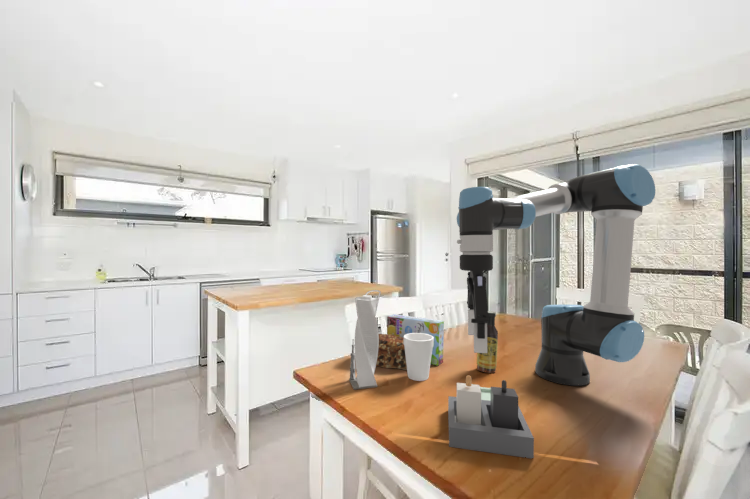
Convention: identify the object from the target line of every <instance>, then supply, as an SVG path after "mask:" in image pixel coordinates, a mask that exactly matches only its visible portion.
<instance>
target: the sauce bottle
mask: <svg viewBox="0 0 750 499" xmlns="http://www.w3.org/2000/svg"><path fill="white" fill-rule="evenodd" d="M496 315H497V313H496V312H495V311H491V310H488V318H489V322H487V353H476V369H477V370H478V371H479V372H482V373H485V374H494V373H495V372H496V370H497V360H498V359H497V358H498V341H499V336H498V335H499V333H498V329H497V327H496V326H495V325H496V323H495V321H496Z"/></svg>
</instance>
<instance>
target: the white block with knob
mask: <svg viewBox="0 0 750 499" xmlns="http://www.w3.org/2000/svg"><path fill="white" fill-rule="evenodd" d="M480 387H481V386H480V384H473V383H472V376H471V375H466V376H465V382H456V397H457V402H456V422H459V423H466V424H474V425H481V390H480Z"/></svg>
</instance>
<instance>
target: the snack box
mask: <svg viewBox="0 0 750 499" xmlns="http://www.w3.org/2000/svg"><path fill="white" fill-rule="evenodd" d="M386 318H387V320H386V334H388V335H395V336H398V337H402V338H404V335H406V334H409V333H424V334H429V335H431V336H433V337H434V346H433V349H432V356H431V363H430V365H433V366H439V365H441V364H442V363H444V341H445V340H444V338H445V337H444V336H445V335H444V334H445V330H444V327H445V321H444V320H439V319H432V318H425V317H418V316H417V317H416V316H412V315H411V316H409V315H403V314H394V313H393V314H390V315H387V316H386Z"/></svg>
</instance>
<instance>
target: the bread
mask: <svg viewBox="0 0 750 499" xmlns="http://www.w3.org/2000/svg"><path fill="white" fill-rule="evenodd" d="M376 367H378V368H384V369H385V368H386V369H396V370H398V369H400V370H403V371H404V370H407V365H406V356H405V347H404V338H402V337H398V336H395V335H388V334H387V333H379V348H378V357H377V363H376Z"/></svg>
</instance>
